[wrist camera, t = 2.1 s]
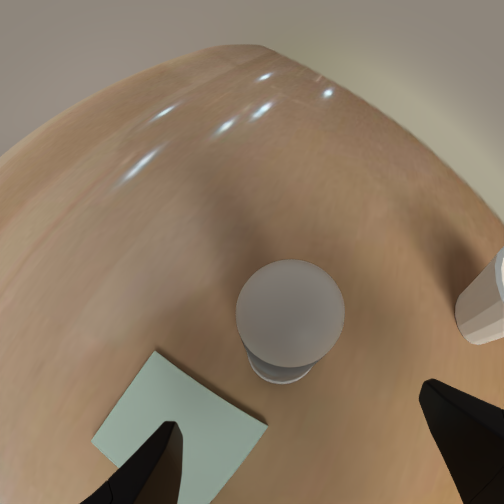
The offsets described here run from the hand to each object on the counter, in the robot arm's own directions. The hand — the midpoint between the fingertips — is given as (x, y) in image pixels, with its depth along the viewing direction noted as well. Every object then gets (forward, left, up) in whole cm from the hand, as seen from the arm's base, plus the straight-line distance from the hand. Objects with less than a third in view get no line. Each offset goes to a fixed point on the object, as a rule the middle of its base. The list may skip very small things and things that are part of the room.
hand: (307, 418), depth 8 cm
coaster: (+6, +7, -11) cm, 14 cm away
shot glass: (-12, -14, -11) cm, 22 cm away
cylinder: (+3, -3, -11) cm, 12 cm away
